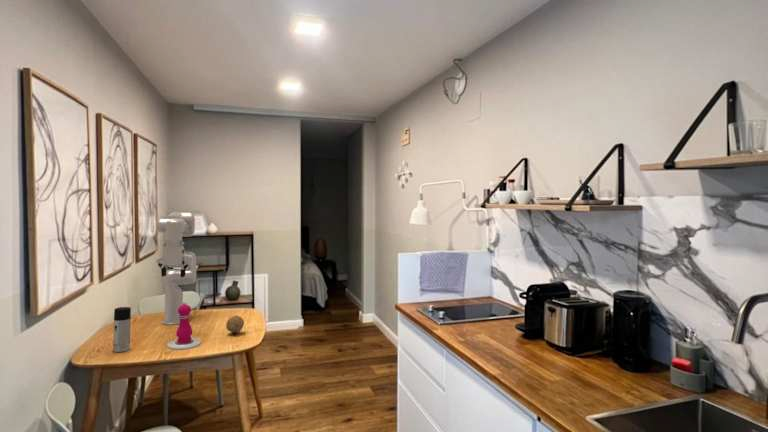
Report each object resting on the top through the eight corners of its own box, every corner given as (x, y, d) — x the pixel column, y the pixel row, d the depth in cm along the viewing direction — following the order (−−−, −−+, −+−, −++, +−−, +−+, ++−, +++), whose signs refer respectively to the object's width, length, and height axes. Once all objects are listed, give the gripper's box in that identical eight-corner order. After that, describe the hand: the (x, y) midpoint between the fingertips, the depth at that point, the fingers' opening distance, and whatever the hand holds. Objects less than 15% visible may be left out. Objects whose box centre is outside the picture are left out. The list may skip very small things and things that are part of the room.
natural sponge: (237, 337, 216) (237, 318, 216) (222, 335, 217) (222, 317, 217) (246, 332, 225) (246, 314, 224) (232, 331, 226) (232, 313, 226)
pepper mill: (185, 344, 198) (185, 303, 198) (173, 343, 200) (173, 303, 199) (195, 339, 205) (195, 300, 205) (183, 338, 207) (183, 299, 206)
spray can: (118, 347, 196) (118, 306, 195) (132, 347, 196) (133, 306, 196) (110, 352, 189) (110, 310, 189) (125, 352, 190) (126, 310, 189)
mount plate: (177, 339, 210) (177, 336, 210) (206, 340, 210) (206, 337, 210) (161, 349, 195) (161, 346, 195) (192, 350, 195) (192, 347, 195)
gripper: (193, 243, 213) (193, 275, 214) (161, 242, 213) (160, 274, 214) (187, 245, 206) (186, 278, 207) (153, 243, 206) (152, 277, 207)
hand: (173, 276), depth 210 cm, fingers open, 9 cm apart
